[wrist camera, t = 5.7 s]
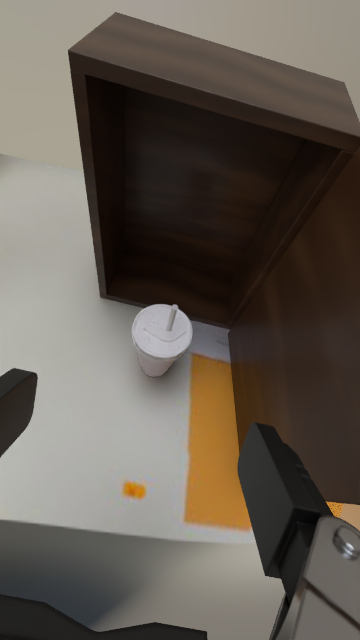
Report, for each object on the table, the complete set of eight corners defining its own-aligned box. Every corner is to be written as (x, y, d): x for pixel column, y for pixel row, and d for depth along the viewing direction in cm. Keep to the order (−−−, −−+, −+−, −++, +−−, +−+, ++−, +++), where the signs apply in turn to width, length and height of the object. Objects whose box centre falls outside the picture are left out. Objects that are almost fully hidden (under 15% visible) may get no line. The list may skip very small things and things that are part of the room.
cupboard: (231, 329, 41) (366, 138, 18) (100, 297, 40) (67, 49, 17) (235, 279, 46) (344, 82, 23) (120, 249, 45) (115, 11, 22)
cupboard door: (267, 336, 41) (440, 161, 19) (294, 492, 31) (750, 525, 8) (227, 333, 40) (360, 145, 18) (243, 492, 30) (600, 529, 8)
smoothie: (176, 389, 35) (203, 343, 23) (126, 384, 34) (127, 333, 22) (179, 344, 38) (204, 283, 26) (133, 338, 37) (137, 273, 26)
